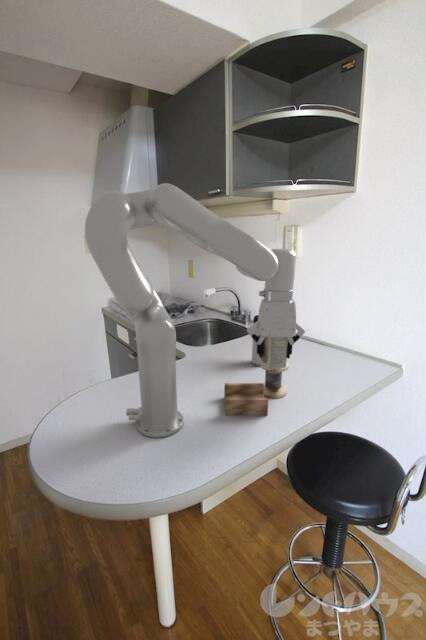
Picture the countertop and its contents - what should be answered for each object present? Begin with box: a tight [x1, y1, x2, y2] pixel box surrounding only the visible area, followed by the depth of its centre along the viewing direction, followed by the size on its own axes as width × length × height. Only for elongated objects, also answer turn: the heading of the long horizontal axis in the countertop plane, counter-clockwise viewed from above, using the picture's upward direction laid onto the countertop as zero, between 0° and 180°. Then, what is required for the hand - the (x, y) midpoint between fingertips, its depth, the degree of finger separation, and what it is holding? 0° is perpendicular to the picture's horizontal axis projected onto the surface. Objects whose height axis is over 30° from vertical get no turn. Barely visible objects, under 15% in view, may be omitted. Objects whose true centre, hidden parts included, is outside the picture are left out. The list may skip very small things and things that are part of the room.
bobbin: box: [260, 361, 290, 399], centre depth 103 cm, size 9×9×10 cm
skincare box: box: [261, 330, 288, 370], centre depth 90 cm, size 6×4×12 cm
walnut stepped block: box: [224, 382, 269, 417], centre depth 95 cm, size 12×10×5 cm
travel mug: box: [251, 314, 261, 368], centre depth 122 cm, size 6×7×20 cm
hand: (273, 355), depth 91 cm, fingers closed on skincare box, 7 cm apart
